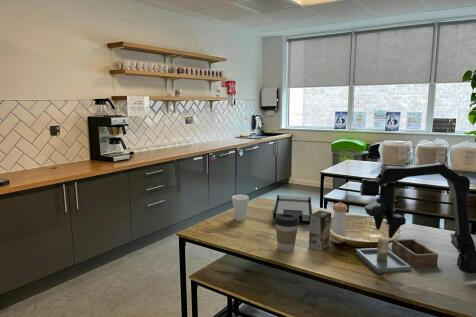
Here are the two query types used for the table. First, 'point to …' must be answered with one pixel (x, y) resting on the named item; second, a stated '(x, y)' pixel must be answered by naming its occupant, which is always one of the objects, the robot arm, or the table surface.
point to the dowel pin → (382, 250)
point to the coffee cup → (286, 231)
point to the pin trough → (414, 253)
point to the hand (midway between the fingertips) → (383, 233)
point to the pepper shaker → (339, 220)
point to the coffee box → (319, 230)
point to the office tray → (294, 207)
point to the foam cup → (240, 206)
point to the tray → (371, 260)
